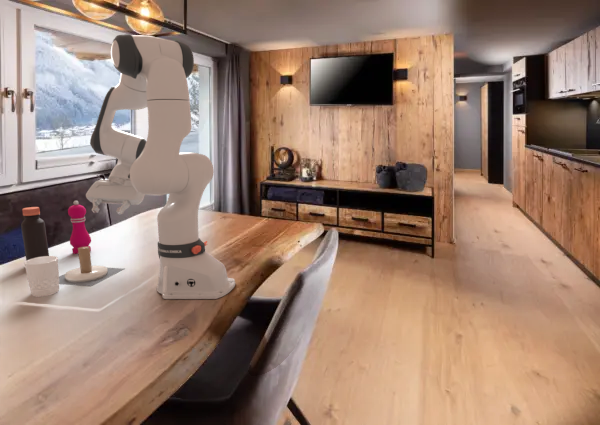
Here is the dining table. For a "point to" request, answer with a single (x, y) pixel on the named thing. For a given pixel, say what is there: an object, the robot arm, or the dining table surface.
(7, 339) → the dining table surface
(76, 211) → the pepper mill
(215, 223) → the dining table surface
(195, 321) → the dining table surface
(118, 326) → the dining table surface
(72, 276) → the lid
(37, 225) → the bottle
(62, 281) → the slate mat
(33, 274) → the white cup
